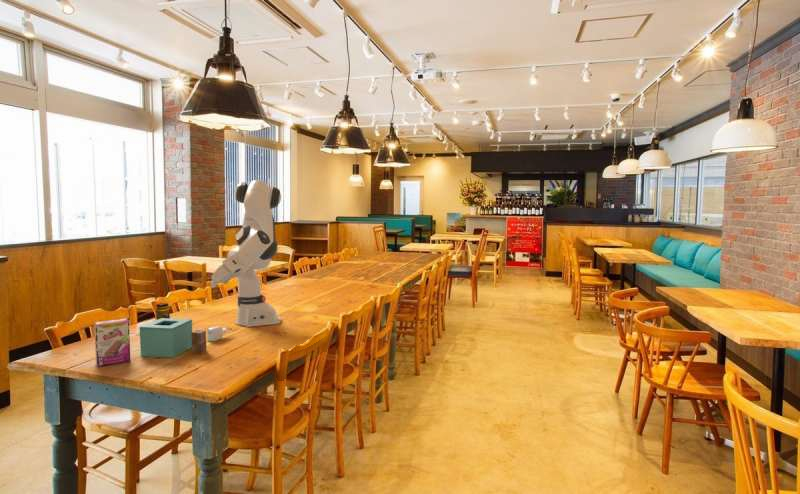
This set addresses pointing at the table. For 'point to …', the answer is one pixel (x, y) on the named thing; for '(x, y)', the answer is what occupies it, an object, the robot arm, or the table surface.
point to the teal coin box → (166, 337)
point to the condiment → (162, 311)
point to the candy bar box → (112, 342)
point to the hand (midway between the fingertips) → (217, 284)
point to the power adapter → (216, 333)
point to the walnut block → (198, 341)
